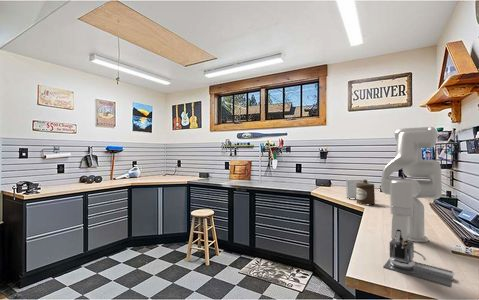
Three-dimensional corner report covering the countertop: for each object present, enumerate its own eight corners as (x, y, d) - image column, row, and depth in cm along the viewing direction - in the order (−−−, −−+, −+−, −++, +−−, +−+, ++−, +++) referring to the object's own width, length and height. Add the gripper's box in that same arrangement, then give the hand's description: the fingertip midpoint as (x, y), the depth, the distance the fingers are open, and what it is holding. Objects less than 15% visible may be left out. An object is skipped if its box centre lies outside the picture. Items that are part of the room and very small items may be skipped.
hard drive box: (362, 198, 245) (361, 178, 246) (364, 199, 238) (364, 179, 238) (346, 197, 247) (346, 178, 248) (348, 199, 240) (348, 179, 240)
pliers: (402, 256, 104) (386, 240, 124) (402, 258, 104) (386, 242, 124) (428, 259, 102) (407, 242, 121) (428, 261, 102) (407, 244, 121)
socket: (393, 251, 102) (393, 238, 102) (413, 256, 97) (413, 242, 97) (389, 256, 97) (389, 242, 97) (410, 262, 92) (410, 246, 92)
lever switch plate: (391, 256, 105) (391, 243, 105) (454, 272, 91) (453, 257, 91) (383, 267, 95) (383, 252, 95) (452, 287, 81) (451, 269, 81)
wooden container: (353, 202, 224) (352, 179, 225) (366, 201, 227) (366, 178, 228) (363, 205, 210) (363, 180, 210) (378, 205, 213) (378, 180, 213)
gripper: (395, 206, 106) (395, 246, 106) (385, 212, 94) (385, 258, 93) (416, 208, 101) (416, 251, 100) (408, 216, 88) (409, 264, 88)
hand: (401, 254), depth 97 cm, fingers closed on socket, 7 cm apart
